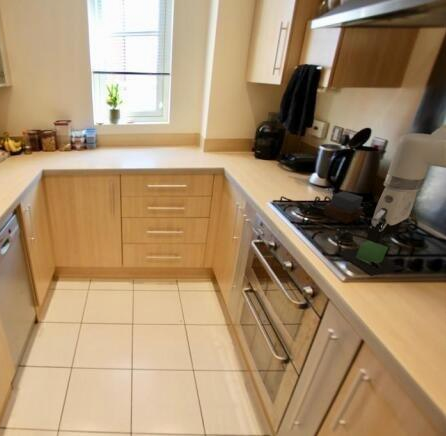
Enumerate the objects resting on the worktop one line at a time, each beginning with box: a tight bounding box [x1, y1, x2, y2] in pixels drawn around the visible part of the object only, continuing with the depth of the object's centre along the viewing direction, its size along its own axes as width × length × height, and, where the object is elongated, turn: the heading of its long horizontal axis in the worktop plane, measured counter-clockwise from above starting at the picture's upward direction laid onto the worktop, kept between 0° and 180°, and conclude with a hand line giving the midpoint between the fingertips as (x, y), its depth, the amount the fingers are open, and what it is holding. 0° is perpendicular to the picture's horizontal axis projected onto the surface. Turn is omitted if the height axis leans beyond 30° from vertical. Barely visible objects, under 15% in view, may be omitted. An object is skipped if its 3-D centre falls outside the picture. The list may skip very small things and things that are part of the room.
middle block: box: [329, 190, 364, 211], centre depth 119 cm, size 7×7×4 cm
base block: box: [322, 201, 365, 224], centre depth 121 cm, size 9×9×4 cm
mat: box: [335, 247, 405, 277], centre depth 96 cm, size 12×12×1 cm
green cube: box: [356, 240, 389, 265], centre depth 95 cm, size 5×5×5 cm
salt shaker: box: [398, 203, 415, 233], centre depth 110 cm, size 6×6×12 cm
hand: (381, 236), depth 92 cm, fingers open, 9 cm apart
